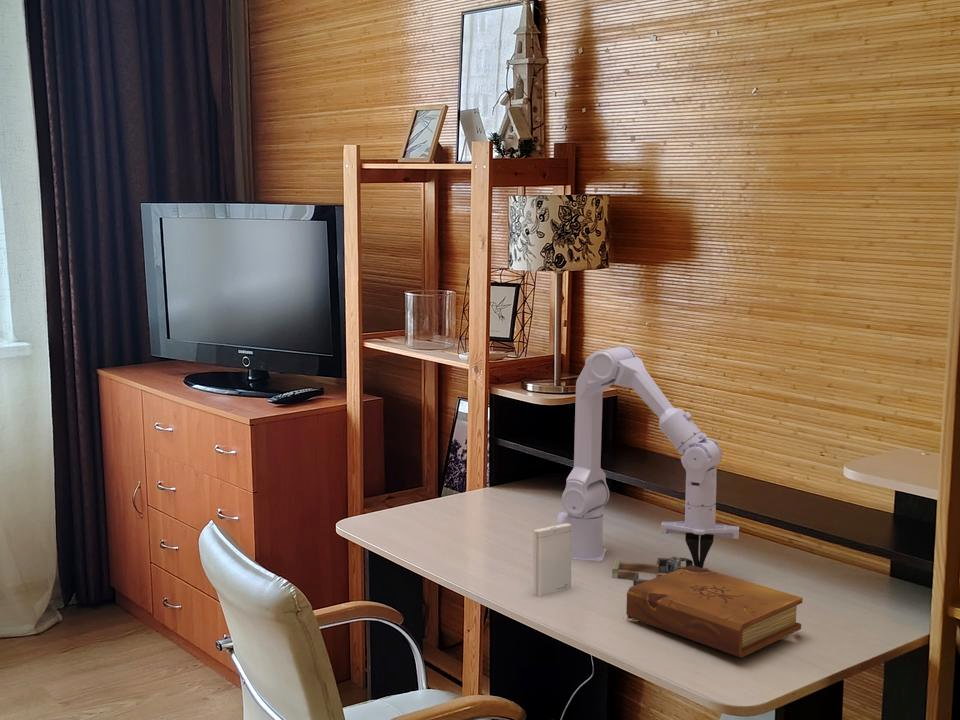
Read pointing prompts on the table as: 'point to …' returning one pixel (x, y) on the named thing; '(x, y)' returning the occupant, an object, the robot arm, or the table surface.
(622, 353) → the robot arm
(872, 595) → the table surface
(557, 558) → the hard drive
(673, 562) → the wristwatch
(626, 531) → the table surface
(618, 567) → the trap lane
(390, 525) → the table surface
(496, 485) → the table surface
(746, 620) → the diary
